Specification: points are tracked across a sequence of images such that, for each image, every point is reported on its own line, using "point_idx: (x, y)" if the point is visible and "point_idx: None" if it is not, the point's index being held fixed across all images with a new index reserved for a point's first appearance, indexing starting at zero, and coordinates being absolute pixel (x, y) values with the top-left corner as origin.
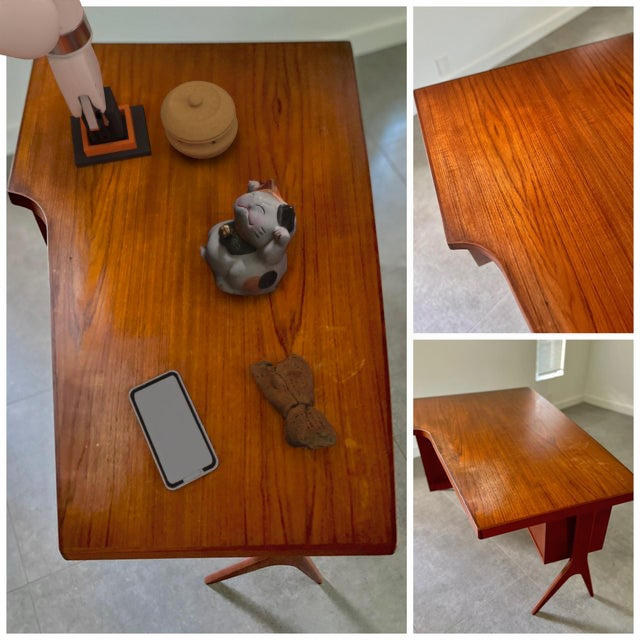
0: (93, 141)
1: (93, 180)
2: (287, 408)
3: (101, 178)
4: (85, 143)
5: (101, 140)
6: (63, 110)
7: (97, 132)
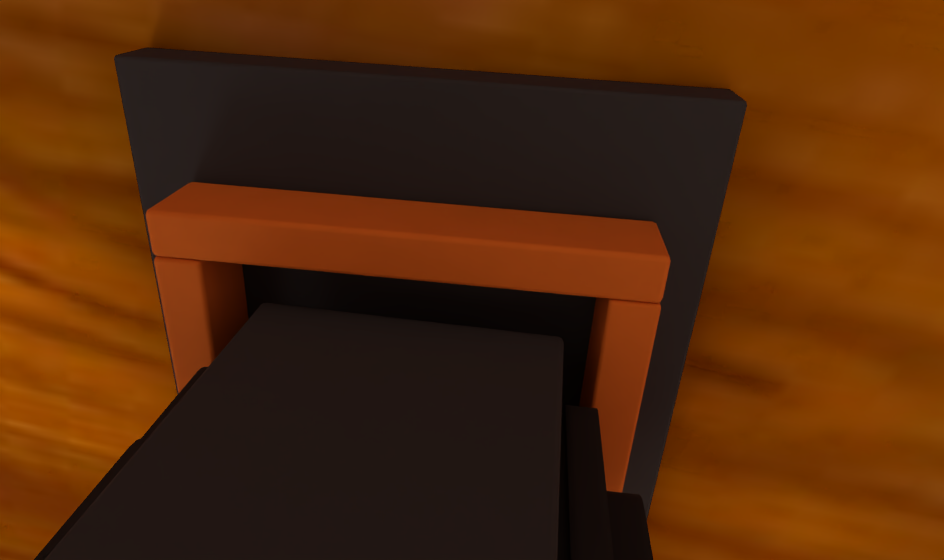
0: (255, 312)
1: (22, 157)
2: None
3: (43, 219)
4: (232, 243)
5: (136, 441)
6: (916, 18)
7: (58, 534)
